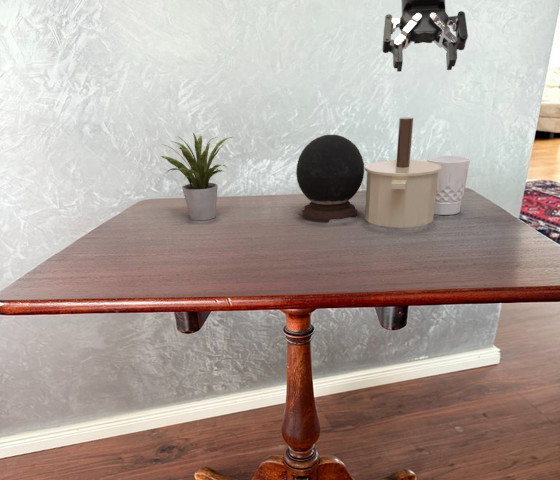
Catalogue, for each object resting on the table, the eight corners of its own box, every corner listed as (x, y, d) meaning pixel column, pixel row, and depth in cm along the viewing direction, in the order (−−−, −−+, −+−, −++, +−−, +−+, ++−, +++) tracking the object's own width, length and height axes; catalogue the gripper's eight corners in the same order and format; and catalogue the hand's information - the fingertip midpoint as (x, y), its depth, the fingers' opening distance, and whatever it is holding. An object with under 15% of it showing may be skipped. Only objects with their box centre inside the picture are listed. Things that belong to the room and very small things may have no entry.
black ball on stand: (284, 215, 111) (281, 135, 103) (332, 204, 118) (333, 129, 110) (326, 227, 102) (327, 141, 94) (376, 215, 108) (380, 133, 101)
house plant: (222, 204, 121) (215, 124, 113) (253, 216, 111) (248, 129, 102) (162, 215, 114) (150, 130, 106) (190, 228, 104) (179, 136, 96)
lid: (441, 166, 103) (447, 114, 99) (439, 180, 92) (446, 122, 87) (369, 165, 107) (372, 114, 102) (359, 179, 95) (362, 122, 91)
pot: (433, 211, 110) (439, 161, 105) (431, 236, 95) (437, 179, 90) (371, 209, 113) (373, 160, 108) (359, 233, 98) (361, 178, 93)
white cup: (448, 218, 104) (455, 163, 99) (414, 211, 110) (419, 159, 105) (470, 210, 109) (478, 157, 104) (436, 204, 114) (442, 154, 109)
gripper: (384, -25, 95) (385, 50, 90) (468, -30, 93) (473, 47, 89) (380, 13, 102) (381, 85, 98) (458, 9, 100) (462, 82, 96)
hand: (425, 67), depth 93 cm, fingers open, 8 cm apart
